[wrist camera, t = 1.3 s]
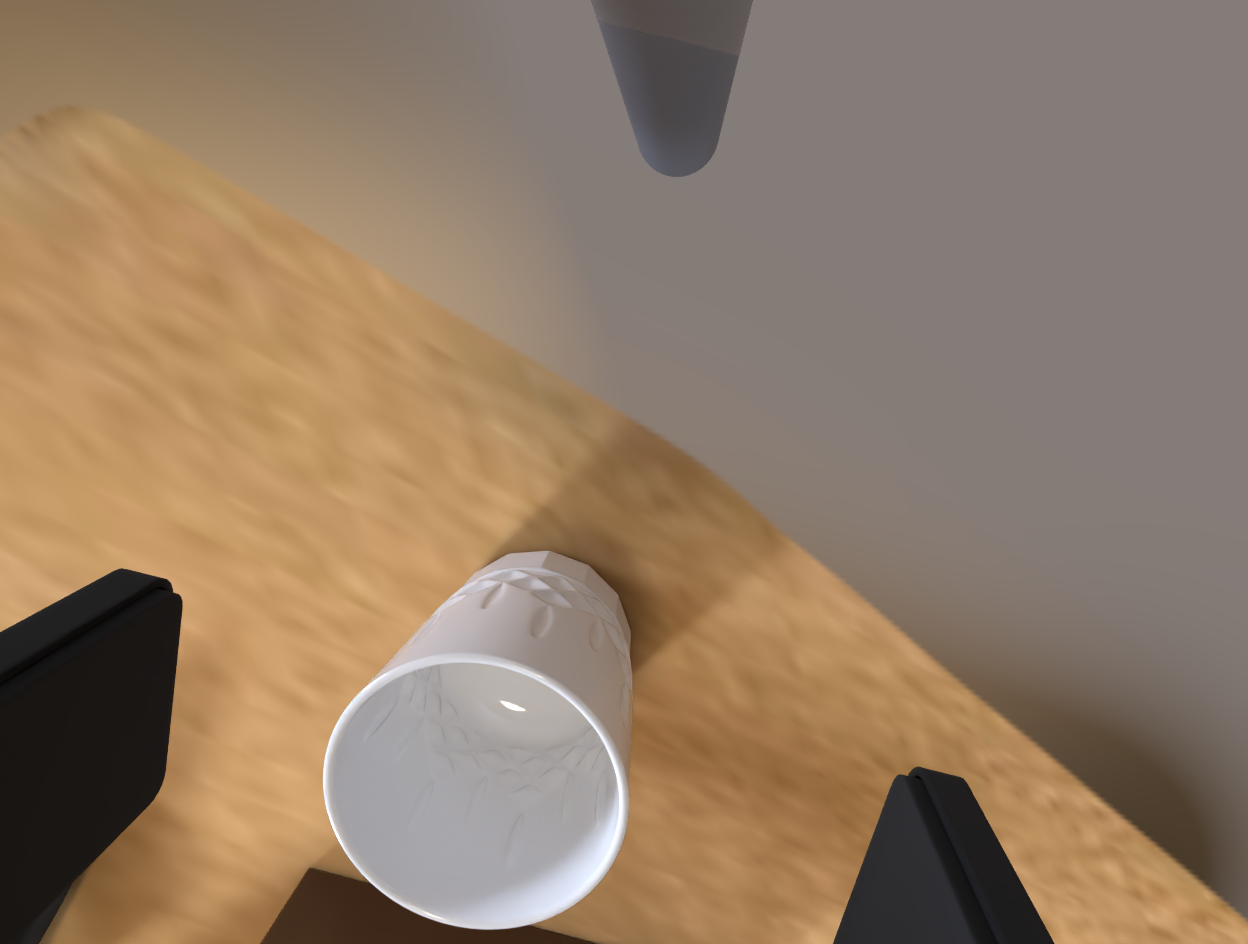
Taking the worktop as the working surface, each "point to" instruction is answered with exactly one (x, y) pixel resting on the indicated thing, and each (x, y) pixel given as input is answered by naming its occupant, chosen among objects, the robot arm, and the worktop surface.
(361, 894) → the walnut rail
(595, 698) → the white cup
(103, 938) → the worktop surface
